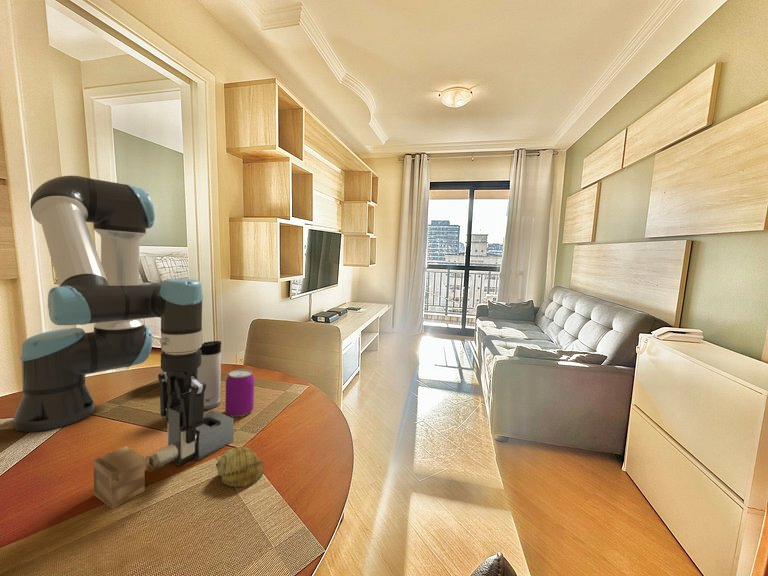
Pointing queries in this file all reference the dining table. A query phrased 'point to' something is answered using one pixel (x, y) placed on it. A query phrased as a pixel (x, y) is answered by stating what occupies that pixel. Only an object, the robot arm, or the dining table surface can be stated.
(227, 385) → the beverage can
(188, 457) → the sliding bolt
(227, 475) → the seashell
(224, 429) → the sleeve
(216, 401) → the travel mug
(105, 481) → the socket
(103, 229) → the robot arm
